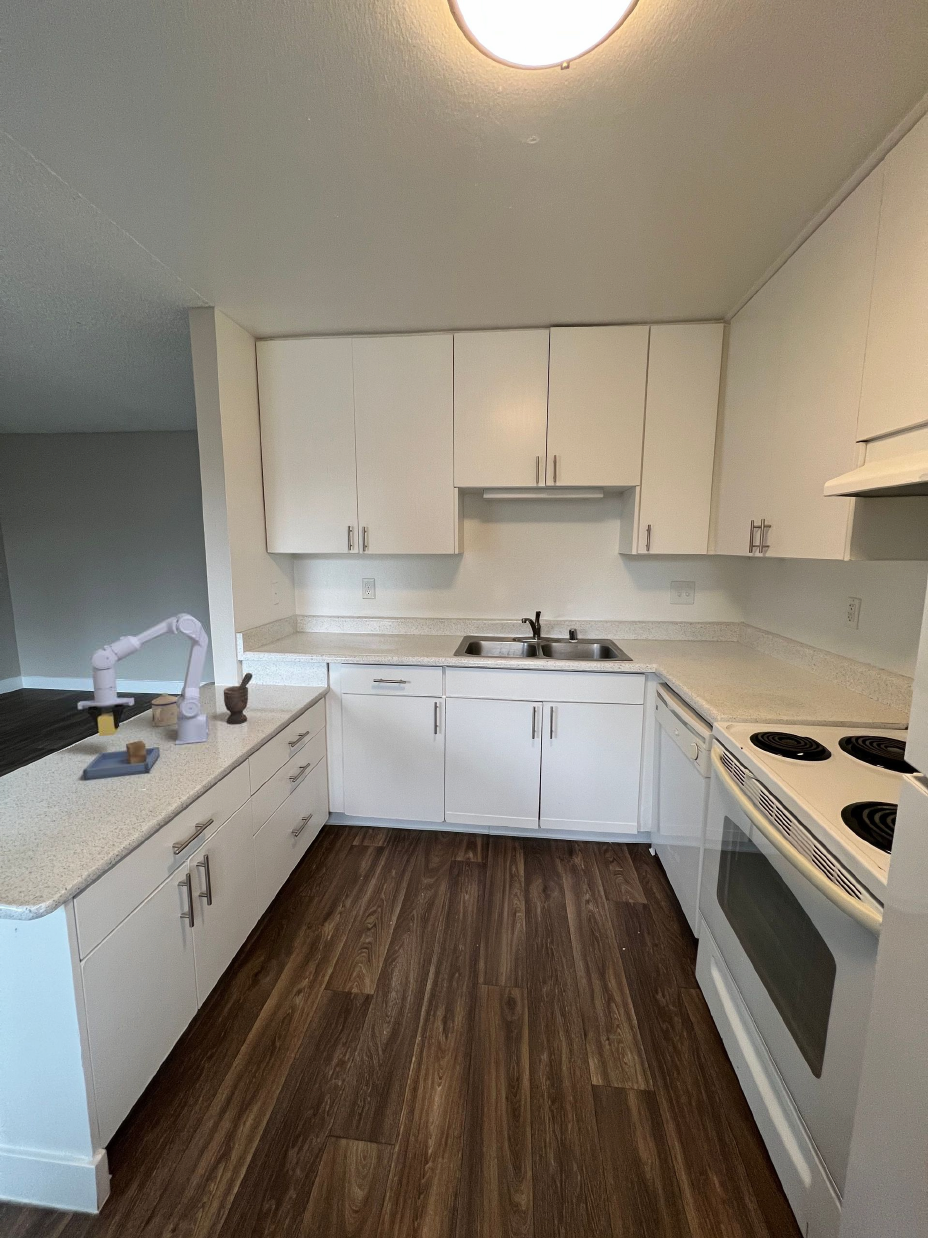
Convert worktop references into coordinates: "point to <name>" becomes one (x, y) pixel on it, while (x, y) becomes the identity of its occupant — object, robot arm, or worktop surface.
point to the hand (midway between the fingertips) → (108, 728)
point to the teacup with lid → (164, 710)
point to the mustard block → (106, 724)
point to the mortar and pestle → (237, 700)
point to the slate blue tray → (119, 765)
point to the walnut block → (136, 752)
